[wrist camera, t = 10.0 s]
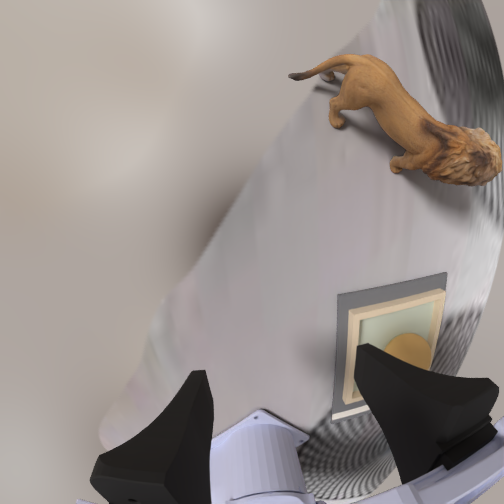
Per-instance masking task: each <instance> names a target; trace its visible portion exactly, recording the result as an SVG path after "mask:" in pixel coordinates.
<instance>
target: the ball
mask: <svg viewBox="0 0 504 504" xmlns="http://www.w3.org/2000/svg"><path fill="white" fill-rule="evenodd" d="M384 351H385V352H387V353H388V354H390V355H392V356H394V357H396V358H398V359H400V360H403V361H405V362H407V363H409V364H412V365H414V366H416V367H419V368H422V369H425V370H428V369H429V367H430V363H431V350H430V347H429V344H428V343H427V341H426V340H425V339H424V338H423V337H421V336H419V335H417V334H413V333H405V334H401V335H399V336H397V337H395V338H394V339H392V340H391V341H390V342H389V343H388V345H387V346H386V348H385V349H384Z"/></svg>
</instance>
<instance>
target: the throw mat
mask: <svg viewBox="0 0 504 504" xmlns="http://www.w3.org/2000/svg"><path fill="white" fill-rule="evenodd" d="M446 282H447V272H444V273H439V274H435V275H431V276H427V277H422V278H418V279H414V280H409V281H405V282H400V283H395V284H390V285H386V286H381V287H376V288H371V289H365V290H360V291H355V292H349V293H344V294H338V300H337V344H336V365H335V380H334V393H333V404H332V414H331V424H334V423H338V422H342V421H345V420H349V419H352V418H356V417H359V416H362V415H366V414H369V413H372V412H371V410H370V409H369V407H368V405H367V404H366V402H365V400H364V399H363V397H362V395H361V394H360V392H359V389H358V387H357V385H356V382H355V380H354V369H355V359H356V349H357V346H358V345H362V344H366V343H369V344H371V345H373V346H375V347H377V348H379V349H381V350H383V351H384V349H385V348H386V346H387V345H388V343H389V342H390V341H391V340H392V339H394V338H395V337H397V336H399V335H401V334H405V333H413V334H417V335H419V336H421V337H423V338H424V339H425V340H426V341H427V343H428V344H429V347H430V350H431V363H430V367H429V369H428V371H430V368H431V364H432V360H433V356H434V352H435V348H436V344H437V339H438V335H439V330H440V325H441V320H442V314H443V308H444V302H445V295H446V291H445V290H446Z"/></svg>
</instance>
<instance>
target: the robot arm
mask: <svg viewBox="0 0 504 504" xmlns="http://www.w3.org/2000/svg"><path fill="white" fill-rule="evenodd" d="M354 380H355V382H356V385H357V387H358V389H359V392H360V394H361V395H362V397H363V399H364V400H365V402H366V404H367V405H368V407H369V409H370V410H371V412H372V413H373V415H374V417H375V418H376V420H377V421H378V423H379V425H380V427H381V428H382V430H383V432H384V435H385V437H386V439H387V442H388V444H389V446H390V449H391V452H392V454H393V457H394V460H395V462H396V465H397V468H398V472H399V475H400V479H401V482H402V485H400V486H398V487H394V488H392V489H390V490H387V491H385V492H382V493H380V494H377V495H375V496H371V497H369V498H366V499H363V500H360V501H357V502H354V503H351V504H470V503H472V502H473V501H474V500H475V499H477V498H478V497H479V496H481V495H482V494H483V493H484V492H486V491H487V490H488V489H489V488H490V487H491V486H493V485H494V484H495V483H496V482H498V481H499V480H500V479H501V478H502V477H503V476H504V416H503V417H502V418H501V419H499V420H498V421H497V422H496V423H495V424H494V426H493V425H492V424H491V423H490V422H491V420H492V418H491V417H490V416H489V413H490V411H491V409H492V407H493V406H494V404H495V402H496V399H497V397H498V394H499V387H498V386H497V385H496V384H494V382H492V381H491V380H490V379H489V378H463V377H455V376H448V375H443V374H439V373H435V372H431V371H428V370H425V369H422V368H419V367H416V366H414V365H412V364H409V363H407V362H405V361H403V360H400V359H398V358H396V357H394V356H392V355H390V354H388V353H387V352H385V351H383V350H381V349H379V348H377V347H375V346H373V345H371V344H369V343H366V344H362V345H358V346H357V349H356V359H355V369H354ZM255 416H258V417H255ZM213 422H214V405H213V398H212V394H211V390H210V387H209V383H208V379H207V375H206V371H205V370H197V371H192V372H191V373H190V374H189V376H188V378H187V379H186V381H185V382H184V384H183V385H182V387H181V388H180V390H179V391H178V393H177V394H176V395H175V397H174V398H173V400H172V401H171V402H170V403H169V405H168V406H167V407H166V408H165V409H164V411H163V412H162V413H161V414H160V415H159V416H158V417H157V418H156V419H155V420H154V421H153V422H152V423H151V424H150V425H149V426H147V427H146V428H145V429H144V430H142V431H141V432H140V433H139V434H137V435H136V436H134V437H133V438H131V439H130V440H128V441H127V442H125V443H123V444H122V445H120V446H118V447H116V448H114V449H112V450H110V451H108V452H106V453H103V454H101V455H99V457H98V459H97V461H96V463H95V466H94V469H93V472H92V475H91V477H90V483H91V485H92V486H93V487H94V488H95V490H96V491H98V492H99V494H101V495H102V496H103V497H104V498H105V499H106V500H107V501H108V502H109V504H326V503H325V502H324V501H315V498H314V494H313V493H309V494H308V493H307V489H306V485H305V482H304V478H303V474H302V470H301V466H300V462H299V459H298V455H297V451H296V447H298V446H299V445H301V444H303V443H304V442H306V441H307V440H309V435H307V434H306V433H304V432H302V431H300V430H298V429H296V428H294V427H292V426H291V425H289V424H287V423H285V422H283V421H282V420H280V419H278V418H276V417H274V416H273V415H271V414H269V413H268V412H266V411H264V410H257V411H255V412H254V413H253V414H251V415H250V416H248V417H247V418H245V419H244V420H242V421H241V422H239V423H238V424H236V425H234V426H233V427H231V428H230V429H228V430H227V431H225V432H223V433H222V434H220V435H218V436H217V437H215V438H213V439H212V432H213ZM76 504H96V503H92V502H88V501H85V500H81V499H77V501H76Z"/></svg>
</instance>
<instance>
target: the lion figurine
mask: <svg viewBox="0 0 504 504" xmlns="http://www.w3.org/2000/svg"><path fill="white" fill-rule="evenodd" d="M333 71H334V72H340V73H342V74H345V77H344V79H343V82H342V85H341V89H340V92H339V95H338V96H337V97H334V98H331V99H330V102H329V103H330V111H329V121H330V123H331V125H332V126H333V127H334V128H341V127H342V126H343V124H344V123H345V118H344V117H343V115H342V114H341V113H340V111H341V110H358V109H360V108H362V107H365V106H368V107H370V108H371V109H372V110H373V112H374V115H375V117H376V119H377V121H378V122H379V124H380V126H381V128H382V129H383V130H384V131H385V132H386V133H387V134H388V135H389V136H390V137H391V138H392V139H393V140H394V141H395V142H397V143H398V144H399V145H401V146H402V147H403V148H405V149H406V152H405V153H404V156H394V157H393V158H392V160H391V161H390V169H391V171H392V172H393V173H399V172H400V171H402V168H405V169H409V170H417V169H422V170H423V172H424V173H425V174H427V175H428V177H429V178H430V179H431V180H440V181H441V182H443V183H448V184H455V185H468V186H476V185H480V186H485V185H486V184H487V182H490V181H492V180H493V178H494V177H495V176H497V174H498V173H500V172H501V171H502V160H501V152H500V148H499V146H498V145H497V144H495V142H494V141H492V140H491V138H490V135H489V134H488V133H486V132H485V131H484V130H483V129H481V128H477V129H469V128H466V127H457V126H454V125H445V124H444V123H441V122H439V121H436V120H435V119H434V118H433V117H432V116H431V115H430V114H428V113H427V111H426V110H425V109H424V108H423V107H422V106H421V105H420V104H419V103H418V102H417V101H416V100H415V99H414V98H413V97H411V96H410V95H409V93H408V92H407V91H406V90H405V89H404V88H403V86H402V84H401V83H400V81H399V79H398V77H397V76H396V74H395V73H394V71H393V70H392V69H391V68H390V67H389V66H388V65H387V64H386V63H385V62H383V61H382V60H380V59H378V58H376V57H374V56H372V55H362V56H360V55H354V54H345V55H339V56H335V57H333V58H330V59H328V60H326V61H325V62H323V63H321V64H320V65H318V66H317V67H315V68H313V69H312V70H309V71H306V72H304V73H292V74H289V75H288V77H289V78H291V79H293V80H296V81H299V80H304V79H307V78H311V77H312V76H314V75H317V74H319V76H320V77H321V78H322V79H324V80H325V81H330V80H333V79H334V73H333Z"/></svg>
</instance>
